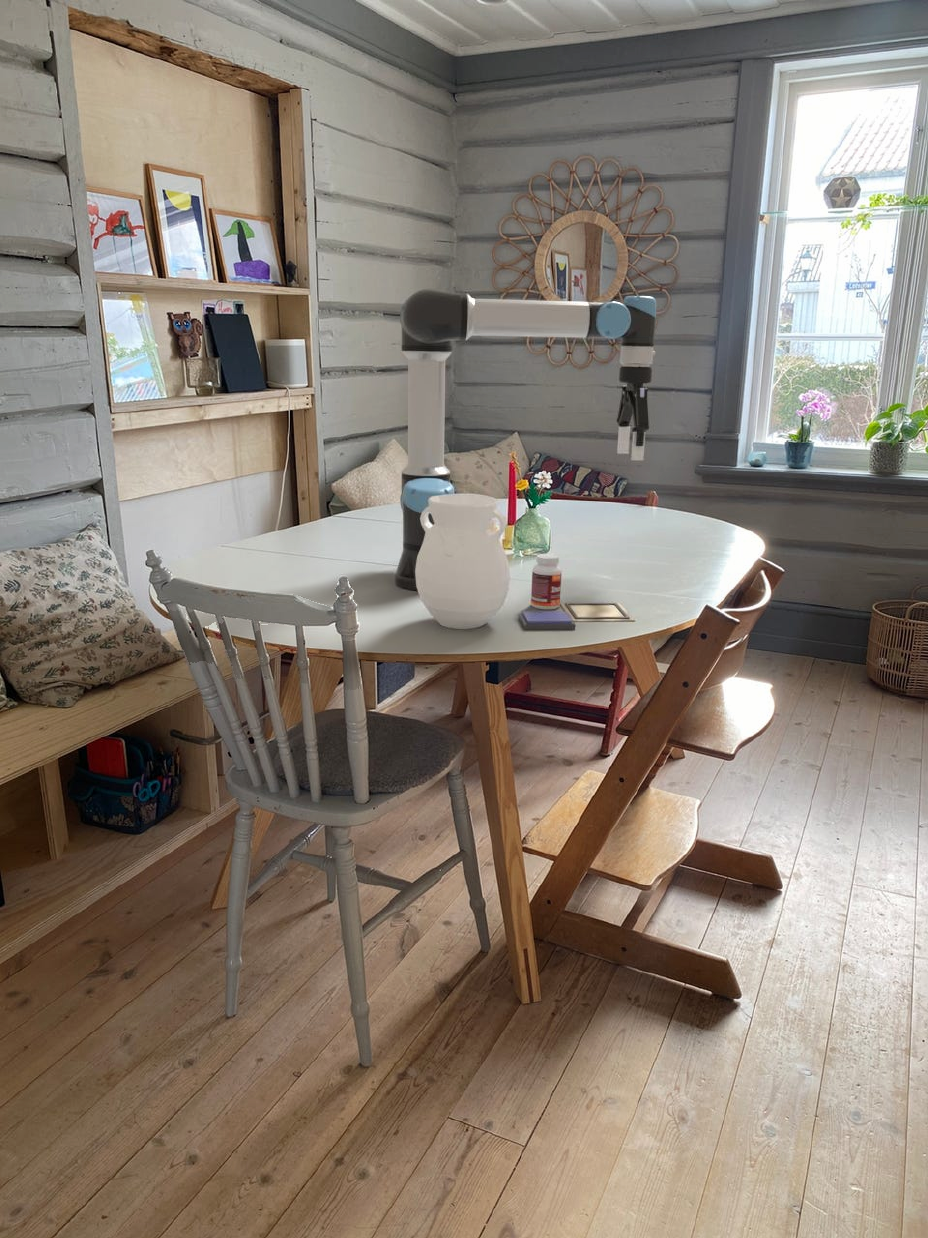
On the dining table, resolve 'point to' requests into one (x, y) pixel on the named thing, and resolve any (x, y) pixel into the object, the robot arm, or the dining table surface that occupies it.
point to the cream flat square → (596, 612)
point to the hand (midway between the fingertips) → (629, 456)
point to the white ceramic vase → (462, 561)
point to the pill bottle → (546, 582)
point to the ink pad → (546, 620)
